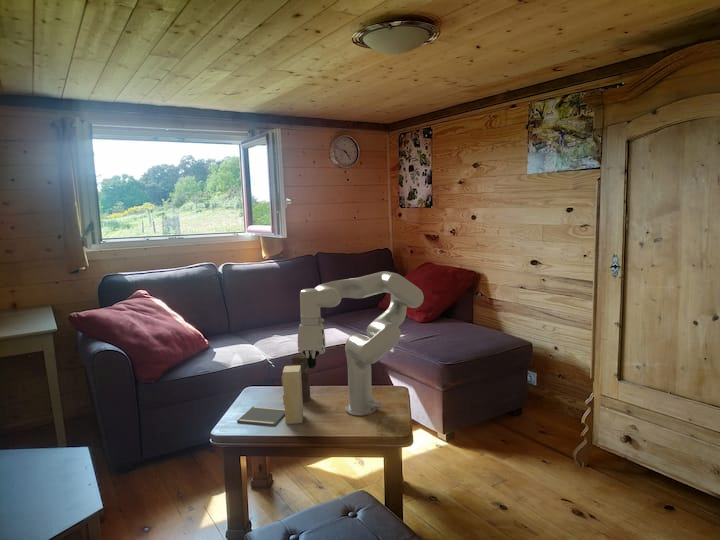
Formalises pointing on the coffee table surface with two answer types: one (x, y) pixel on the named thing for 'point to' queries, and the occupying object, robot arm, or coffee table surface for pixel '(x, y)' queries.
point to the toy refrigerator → (292, 394)
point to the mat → (262, 416)
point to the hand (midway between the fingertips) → (311, 367)
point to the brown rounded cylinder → (303, 374)
